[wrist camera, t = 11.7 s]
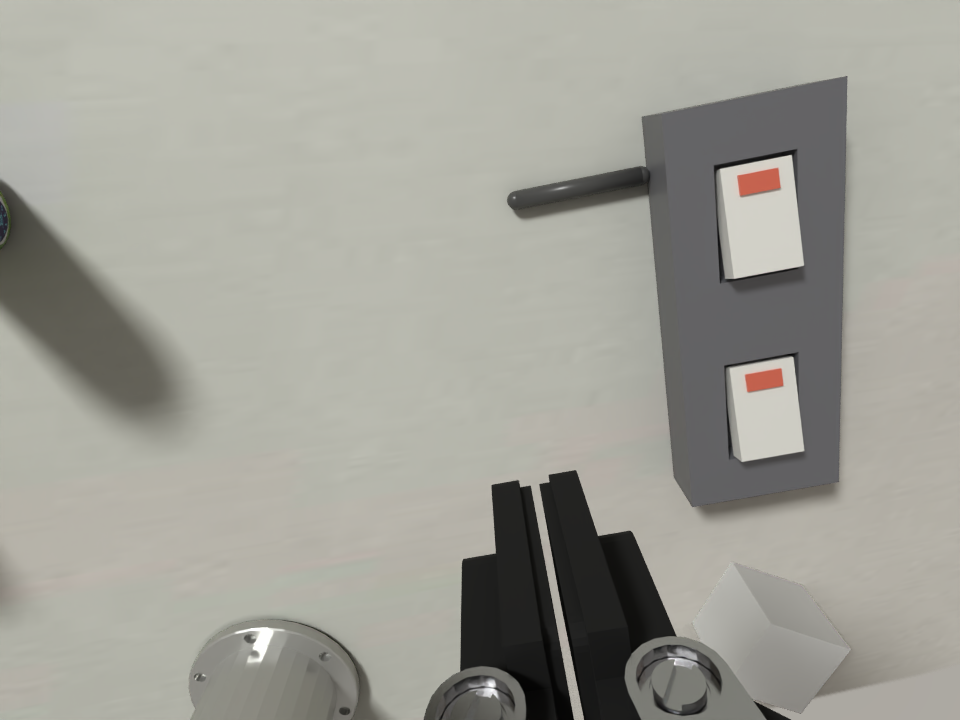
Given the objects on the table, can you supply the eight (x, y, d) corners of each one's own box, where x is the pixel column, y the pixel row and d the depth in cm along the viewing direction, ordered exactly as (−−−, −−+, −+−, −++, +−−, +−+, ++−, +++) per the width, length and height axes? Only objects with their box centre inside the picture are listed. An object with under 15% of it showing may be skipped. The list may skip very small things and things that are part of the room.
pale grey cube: (691, 621, 45) (723, 690, 39) (731, 560, 43) (770, 623, 37) (760, 643, 45) (801, 714, 40) (802, 584, 44) (851, 649, 38)
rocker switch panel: (808, 454, 40) (838, 482, 36) (557, 497, 41) (565, 528, 37) (808, 82, 32) (847, 76, 29) (497, 146, 33) (500, 146, 29)
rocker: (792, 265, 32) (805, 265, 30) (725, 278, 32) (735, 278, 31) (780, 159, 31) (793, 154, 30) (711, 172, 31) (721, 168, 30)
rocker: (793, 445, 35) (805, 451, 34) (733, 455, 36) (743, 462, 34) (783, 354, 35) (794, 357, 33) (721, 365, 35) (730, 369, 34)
